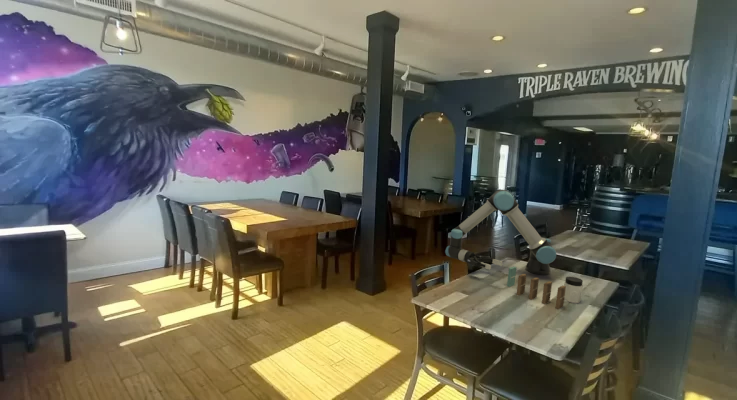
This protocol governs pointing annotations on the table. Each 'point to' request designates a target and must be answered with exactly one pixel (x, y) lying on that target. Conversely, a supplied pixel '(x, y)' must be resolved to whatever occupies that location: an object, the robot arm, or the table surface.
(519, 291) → the domino
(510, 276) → the domino teal
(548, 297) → the domino
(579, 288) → the jar
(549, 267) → the robot arm
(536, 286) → the domino
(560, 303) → the domino
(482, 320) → the table surface
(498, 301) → the table surface
